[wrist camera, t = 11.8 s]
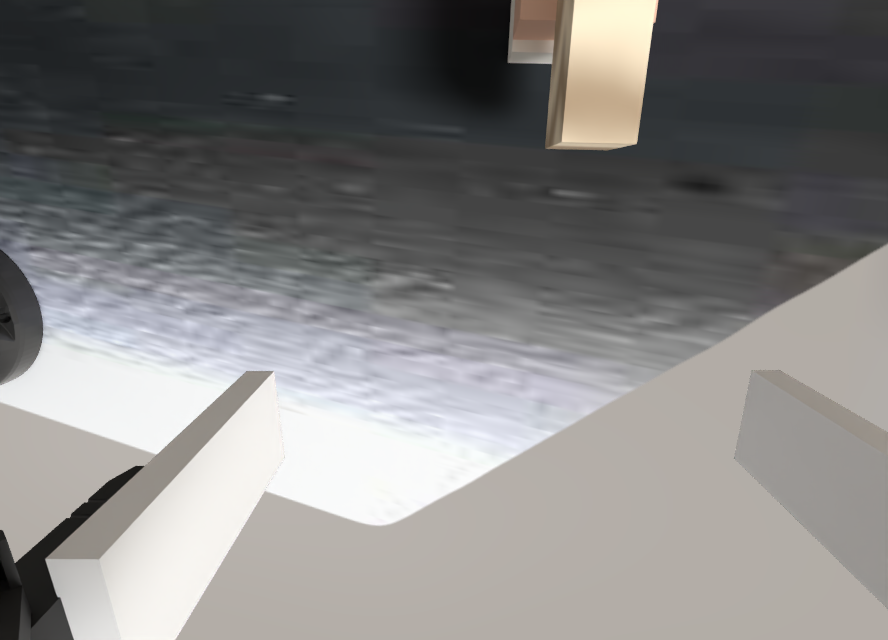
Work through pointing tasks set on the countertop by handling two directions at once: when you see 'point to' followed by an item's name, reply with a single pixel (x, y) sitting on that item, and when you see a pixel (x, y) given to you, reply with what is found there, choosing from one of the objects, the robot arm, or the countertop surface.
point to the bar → (598, 73)
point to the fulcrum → (534, 31)
